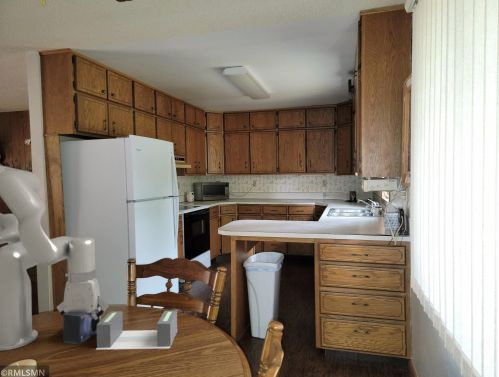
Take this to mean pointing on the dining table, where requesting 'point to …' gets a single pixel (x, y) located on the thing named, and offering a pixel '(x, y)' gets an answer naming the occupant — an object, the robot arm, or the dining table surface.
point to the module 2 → (166, 328)
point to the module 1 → (109, 329)
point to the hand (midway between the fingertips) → (83, 329)
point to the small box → (77, 327)
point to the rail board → (136, 340)
